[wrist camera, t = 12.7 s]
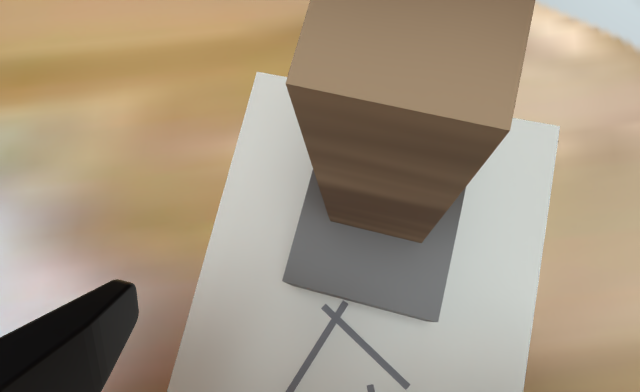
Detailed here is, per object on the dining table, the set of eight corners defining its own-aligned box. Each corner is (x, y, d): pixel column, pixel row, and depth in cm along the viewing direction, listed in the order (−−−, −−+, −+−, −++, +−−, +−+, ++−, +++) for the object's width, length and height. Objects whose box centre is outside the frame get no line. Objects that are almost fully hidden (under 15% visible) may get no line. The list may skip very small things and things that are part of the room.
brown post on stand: (427, 321, 18) (563, 327, 6) (292, 285, 19) (164, 224, 7) (471, 115, 20) (647, -211, 8) (345, 89, 20) (321, -250, 8)
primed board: (453, 786, 16) (462, 834, 15) (104, 664, 18) (80, 695, 16) (545, 139, 21) (560, 125, 19) (263, 88, 22) (256, 71, 21)
